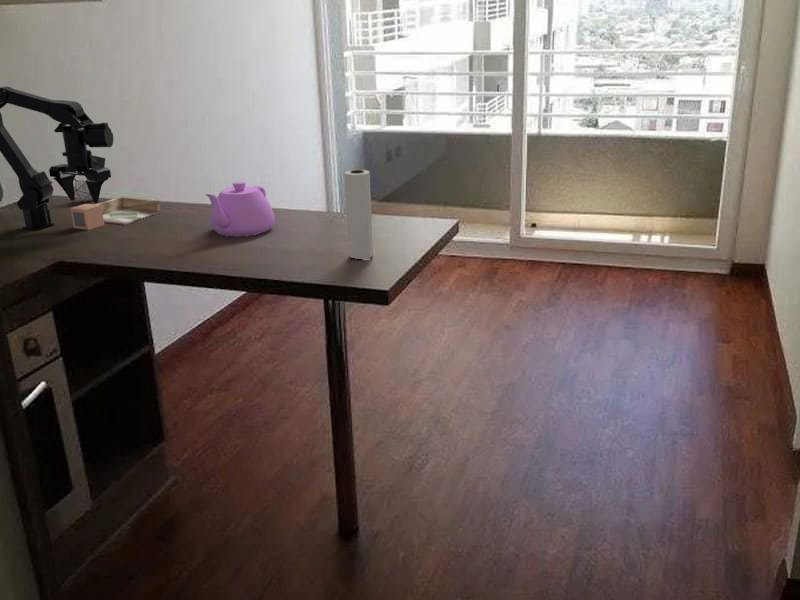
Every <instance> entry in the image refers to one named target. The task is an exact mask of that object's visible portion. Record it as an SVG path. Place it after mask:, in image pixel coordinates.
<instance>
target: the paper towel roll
mask: <svg viewBox="0 0 800 600" xmlns="http://www.w3.org/2000/svg"><path fill="white" fill-rule="evenodd" d="M370 173H371V172H370V171H369V170H367V169H366V170H365V169H352V170H346V171H345V172H344V183H345V184H344V185H345V203H346V205H345V206H346V207H345V208H346V222H347V223H346V224H347V241H348V244H347V245H348V257H349V256H350V257H355V258H360V259H361V258H362V259H371V258H372V257H373V256H374V249H373V247H374V246H373V244H374V243H373V224H372V223H373V222H372V218H373V217H372V198H371V174H370ZM372 255H373V256H372ZM370 256H372V257H371V258H370ZM350 257H349V258H350Z"/></svg>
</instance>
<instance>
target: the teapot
mask: <svg viewBox="0 0 800 600" xmlns="http://www.w3.org/2000/svg"><path fill="white" fill-rule="evenodd" d="M266 195H267V193H266V191H265V188H263V186H260V185H255V186H246V182H245V181H234V182H233V183H232V187H228V188H225V189H222V190H220V192H219V193H218V196H217V195H215V194H211V193H209V194H208V193H205V196H207V197H208V198H209V201H210V205H211V207H210V208H211V209H210V211H211V213H210V217H209V218H210V219H209V222H210V227H211V228H212V229H213V230H214V232H216V233H217V234H218V235H220V234H221V235H220V236H222V235H225V236H224V237H228V236H246V235H254V234H258V233H262V232H265V231H267V230H268V231H269V230H270V229H271V228H272V226H273V225H274V223H275V220H276V219H275V214H274V211H273V208H272V205H271V204H270V202H269V200H268V199H267V197H266ZM268 231H267V232H268ZM265 233H266V232H265ZM262 234H263V233H262ZM258 235H259V234H258ZM254 236H255V235H254ZM246 237H247V236H246Z"/></svg>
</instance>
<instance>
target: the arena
mask: <svg viewBox="0 0 800 600" xmlns="http://www.w3.org/2000/svg"><path fill="white" fill-rule="evenodd" d="M94 205H101V207H102V214H103V220H104V224H115V225H124V226H126V225H128V224H131V223H134V222H138V221H141V220H143V218H144V219H146V217H147V218H150V217H153V216H156V215H159V214H161V207H160V201H159V200H158V199H148V198H139V197H129V196H119V197H116V198H113V199H109V200H106V201H102V202H98V203H94ZM152 215H153V216H152ZM149 216H150V217H149ZM140 219H141V220H140ZM137 220H138V221H137Z"/></svg>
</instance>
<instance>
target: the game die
mask: <svg viewBox="0 0 800 600" xmlns="http://www.w3.org/2000/svg"><path fill="white" fill-rule="evenodd" d="M74 181H75V182H74V192H75V197H76V198H78V200H79V201H80V205H83V202H86V201H87V202H88V201H93V199H92V197H91V194H90V192H89V189H88V186H87V184H86V181H89V180H87V178H83V179H76V178H74Z"/></svg>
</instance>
